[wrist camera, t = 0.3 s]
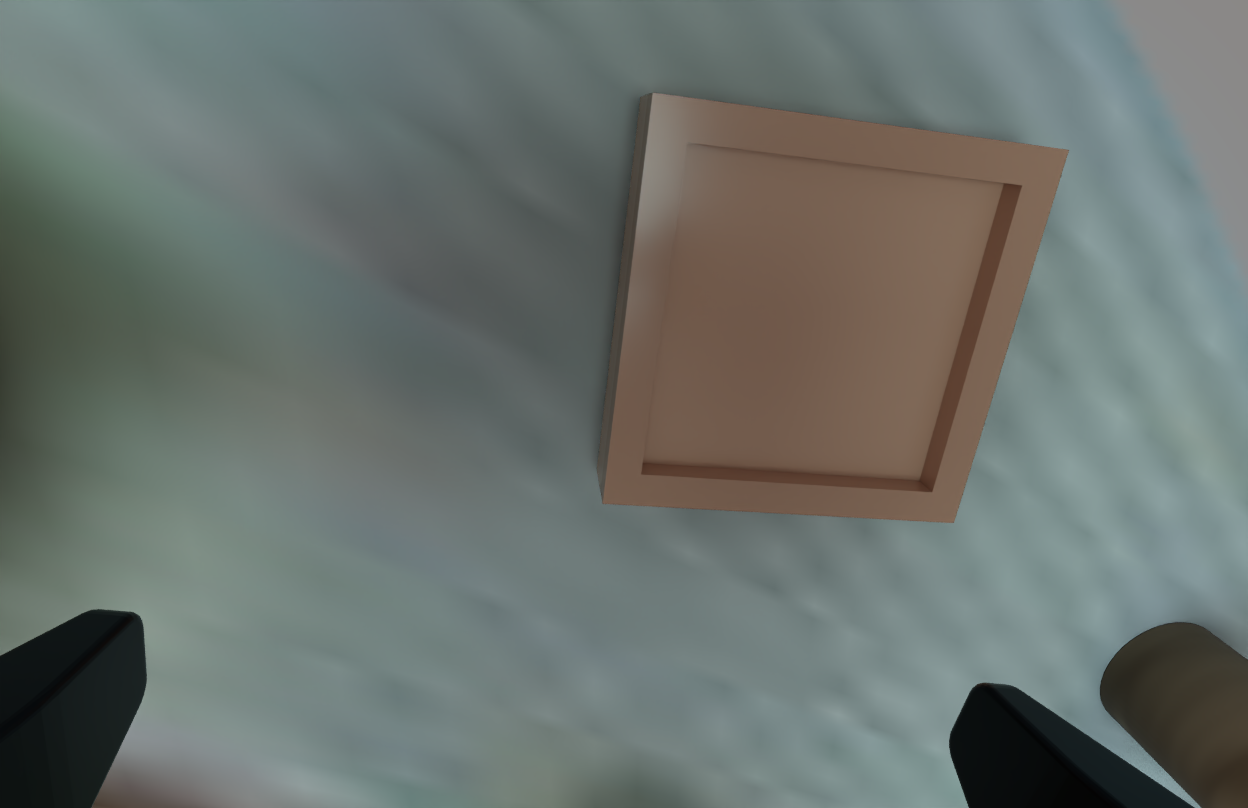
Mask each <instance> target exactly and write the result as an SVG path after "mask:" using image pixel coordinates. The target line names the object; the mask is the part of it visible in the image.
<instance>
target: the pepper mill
mask: <svg viewBox="0 0 1248 808" xmlns="http://www.w3.org/2000/svg"><path fill="white" fill-rule="evenodd" d="M1100 695H1101V701H1102V704H1103V706H1104V708H1105V709H1106V711H1107V712H1108V713H1109V714H1110V715H1111V716H1112V717H1113V718H1114V719H1115V720H1116V721H1117V722H1118V723H1119V724H1120V725H1121V726H1122V727H1123V728H1124V729H1125V730H1126V731H1127V732H1128V733H1129V734H1130V735H1131V736H1132V737H1133V738H1134V739H1135V740H1136V741H1137V742H1138V743H1139V745H1140V746H1141V747H1142V748H1143V749H1144V750H1145V751H1146V752H1147V753H1148V754H1149V755H1150V756H1151V757H1152V758H1153V759H1154V760H1155V761H1156V762H1157V763H1158V764H1159V765H1160V766H1161V767H1162V768H1163V769H1164V770H1165V771H1166V772H1167V773H1168V774H1169V775H1170V776H1171V777H1172V778H1173V779H1174V780H1175V781H1176V782H1177V783H1178V784H1179V785H1180V786H1181V787H1182V788H1183V789H1184V790H1185V791H1186V792H1187V793H1188V794H1189V795H1190V796H1191V797H1192V798H1193V799H1194V800H1195V801H1196V802H1197V803H1198V805H1199V806H1200V807H1201V808H1248V660H1247V659H1246V658H1244V657H1243V656H1242V655H1240V654H1239V653H1238V652H1236V651H1235V650H1234V649H1232V648H1231V647H1230V646H1228V645H1227V644H1225V643H1224V642H1223V641H1221V640H1220V639H1219V638H1217V637H1216V636H1215V635H1213V634H1212V633H1211V632H1209V631H1208V630H1206V629H1205V628H1203V627H1201V626H1199V625H1195V624H1191V623H1171V624H1166V625H1162V626H1158V627H1156V628H1153V629H1150V630H1148V631H1146V632H1144V633H1142V634H1141V635H1139V636H1137V637H1136V638H1134V639H1133V640H1131V641H1130V642H1129V643H1128V644H1126V645H1125V646H1124V647H1123V648H1122V649H1121V650H1120V651H1119V652H1118V653H1117V654H1116V655H1115V657H1114V658H1113V659H1112V660H1111V662H1110V663H1109V665H1108V667H1107V669H1106V671H1105V673H1104V675H1103V678H1102V681H1101V686H1100Z"/></svg>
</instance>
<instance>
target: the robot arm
mask: <svg viewBox="0 0 1248 808" xmlns="http://www.w3.org/2000/svg"><path fill="white" fill-rule="evenodd" d="M146 681H147V673H146V658H145V643H144V628H143V623H142V620H141V618H140V616H139V615H137V614H136V613H133V612H126V611H114V610H102V609H97V610H90V611H87V612H85V613H82V614H80V615H78V616H76V617H74V618H73V619H71V620H69V621H67V622H65V623H63V624H61V625H59V626H57V627H55V628H53V629H51V630H49V631H47V632H45V633H44V634H42V635H40V636H38V637H36V638H34V639H32V640H30V641H28V642H26V643H24V644H22V645H20V646H18V647H16V648H15V649H13V650H11V651H9V652H7V653H5V654H3V655H1V656H0V808H92V806H93V804H94V801H95V799H96V797H97V795H98V793H99V791H100V789H101V787H102V785H103V782H104V780H105V778H106V776H107V774H108V772H109V770H110V768H111V765H112V763H113V761H114V759H115V757H116V755H117V753H118V751H119V749H120V746H121V744H122V742H123V740H124V738H125V736H126V734H127V732H128V730H129V727H130V725H131V723H132V721H133V719H134V717H135V715H136V713H137V710H138V708H139V706H140V704H141V702H142V699H143V696H144V692H145V688H146ZM949 748H950V754H951V758H952V761H953V764H954V767H955V769H956V772H957V775H958V778H959V781H960V784H961V787H962V789H963V792H964V795H965V798H966V801H967V804H968V807H969V808H1194V807H1193V806H1191V805H1190V804H1188V803H1187V802H1185V801H1184V800H1182V799H1181V798H1180V797H1178V796H1177V795H1175V794H1174V793H1172V792H1171V791H1169V790H1168V789H1166V788H1165V787H1163V786H1162V785H1160V784H1159V783H1157V782H1156V781H1154V780H1153V779H1151V778H1150V777H1148V776H1147V775H1145V774H1144V773H1142V772H1141V771H1140V770H1138V769H1137V768H1135V767H1134V766H1132V765H1131V764H1129V763H1128V762H1126V761H1125V760H1123V759H1122V758H1120V757H1119V756H1117V755H1116V754H1114V753H1113V752H1111V751H1110V750H1108V749H1107V748H1105V747H1104V746H1102V745H1101V744H1099V743H1098V742H1097V741H1095V740H1094V739H1092V738H1091V737H1089V736H1088V735H1086V734H1085V733H1083V732H1082V731H1080V730H1079V729H1077V728H1076V727H1074V726H1073V725H1071V724H1070V723H1068V722H1067V721H1065V720H1064V719H1062V718H1061V717H1059V716H1058V715H1056V714H1055V713H1054V712H1052V711H1051V710H1049V709H1048V708H1046V707H1045V706H1043V705H1042V704H1040V703H1039V702H1037V701H1036V700H1034V699H1033V698H1031V697H1030V696H1028V695H1027V694H1025V693H1024V692H1022V691H1021V690H1019V689H1018V688H1016V687H1014V686H1011V685H1006V684H994V683H980V684H977V685H976V686H975V687H973V688H972V690H971V691H970V693H969V695H968V697H967V699H966V701H965V703H964V706H963V708H962V710H961V712H960V714H959V716H958V718H957V720H956V722H955V724H954V726H953V728H952V731H951V733H950V739H949Z"/></svg>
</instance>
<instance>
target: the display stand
mask: <svg viewBox="0 0 1248 808" xmlns="http://www.w3.org/2000/svg"><path fill="white" fill-rule="evenodd" d="M1068 151H1069V150H1065V149H1058V148H1051V147H1044V146H1036V145H1029V144H1022V143H1015V142H1007V141H1000V140H993V139H986V138H978V137H971V136H964V135H957V134H950V133H942V132H935V131H928V130H921V129H913V128H906V127H899V126H892V125H885V124H877V123H870V122H863V121H856V120H848V119H841V118H834V117H827V116H819V115H812V114H805V113H798V112H791V111H783V110H776V109H769V108H762V107H754V106H747V105H740V104H733V103H726V102H718V101H711V100H704V99H697V98H689V97H682V96H675V95H668V94H660V93H650V94H647V95H645V96H642V97H640V104H639V113H638V121H637V130H636V138H635V147H634V156H633V164H632V173H631V181H630V190H629V198H628V207H627V215H626V224H625V232H624V241H623V249H622V258H621V267H620V275H619V284H618V292H617V301H616V309H615V318H614V326H613V335H612V343H611V352H610V360H609V369H608V377H607V386H606V395H605V403H604V412H603V420H602V429H601V437H600V446H599V454H598V463H597V474H598V480H599V486H600V491H601V497H602V503H603V504H618V505H636V506H654V507H672V508H690V509H709V510H727V511H745V512H763V513H781V514H799V515H818V516H836V517H854V518H872V519H890V520H908V521H927V522H945V523H954V521H955V517H956V514H957V511H958V508H959V504H960V501H961V498H962V495H963V491H964V488H965V485H966V482H967V479H968V475H969V472H970V469H971V466H972V462H973V459H974V456H975V453H976V449H977V446H978V443H979V440H980V436H981V433H982V430H983V427H984V423H985V420H986V417H987V414H988V411H989V407H990V404H991V401H992V398H993V394H994V391H995V388H996V385H997V381H998V378H999V375H1000V372H1001V368H1002V365H1003V362H1004V359H1005V355H1006V352H1007V349H1008V346H1009V343H1010V339H1011V336H1012V333H1013V330H1014V326H1015V323H1016V320H1017V317H1018V313H1019V310H1020V307H1021V304H1022V300H1023V297H1024V294H1025V291H1026V287H1027V284H1028V281H1029V278H1030V275H1031V271H1032V268H1033V265H1034V262H1035V258H1036V255H1037V252H1038V249H1039V245H1040V242H1041V239H1042V236H1043V232H1044V229H1045V226H1046V223H1047V219H1048V216H1049V213H1050V210H1051V207H1052V203H1053V200H1054V197H1055V194H1056V190H1057V187H1058V184H1059V181H1060V177H1061V174H1062V171H1063V168H1064V164H1065V161H1066V158H1067V155H1068Z"/></svg>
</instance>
